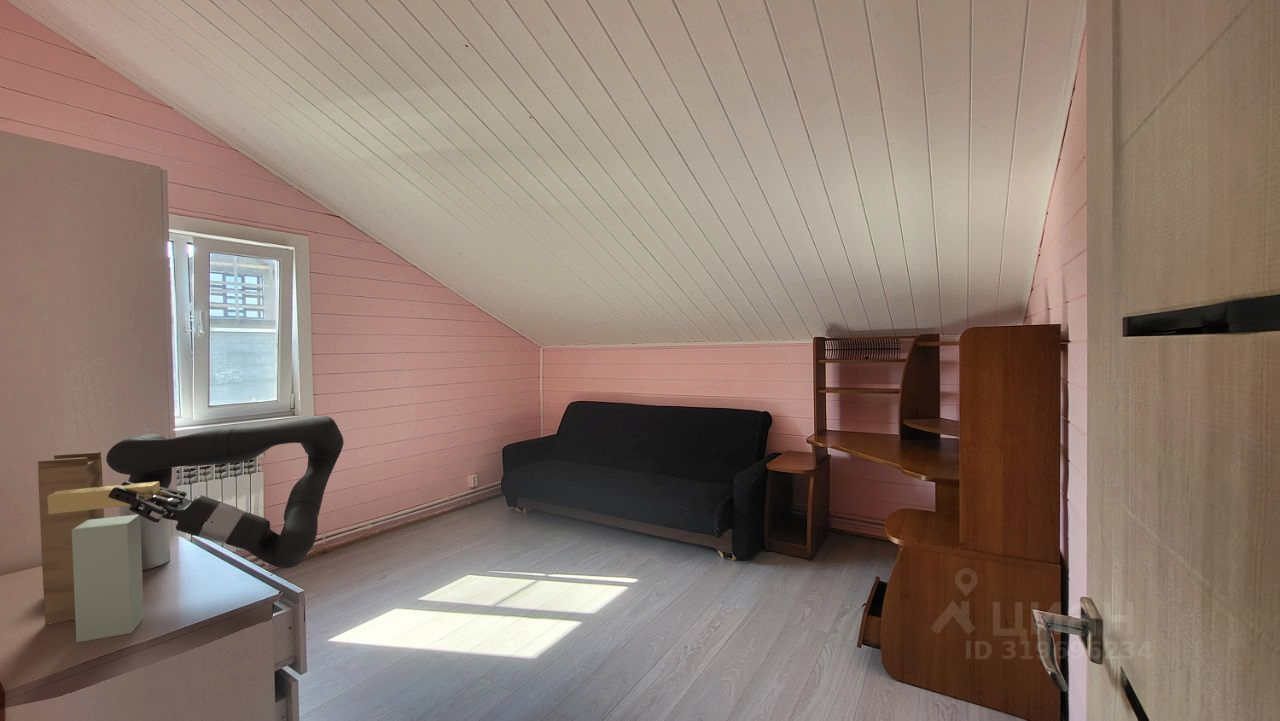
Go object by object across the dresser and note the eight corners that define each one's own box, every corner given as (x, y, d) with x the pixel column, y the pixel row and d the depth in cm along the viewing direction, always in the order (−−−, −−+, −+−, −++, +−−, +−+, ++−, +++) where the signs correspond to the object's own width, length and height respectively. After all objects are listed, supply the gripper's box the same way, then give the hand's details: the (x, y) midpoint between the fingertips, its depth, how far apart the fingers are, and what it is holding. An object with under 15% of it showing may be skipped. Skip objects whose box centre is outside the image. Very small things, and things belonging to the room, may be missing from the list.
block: (92, 627, 107) (87, 519, 106) (143, 618, 111) (139, 514, 110) (76, 642, 102) (71, 529, 101) (131, 633, 105) (127, 523, 104)
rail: (58, 508, 103) (57, 490, 103) (160, 498, 110) (159, 481, 110) (48, 514, 100) (47, 495, 100) (153, 502, 107) (152, 485, 107)
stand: (64, 608, 114) (57, 454, 113) (107, 601, 117) (101, 451, 116) (45, 624, 108) (37, 461, 106) (91, 617, 111) (84, 458, 109)
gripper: (230, 494, 119) (142, 463, 113) (212, 513, 107) (111, 480, 100) (211, 525, 118) (120, 496, 111) (190, 548, 105) (86, 517, 99)
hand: (116, 488), depth 106 cm, fingers closed on rail, 3 cm apart
